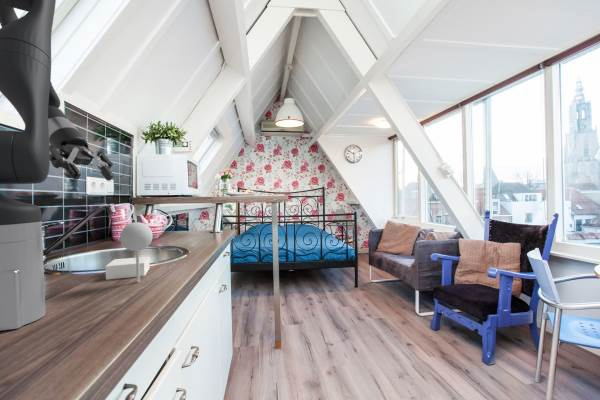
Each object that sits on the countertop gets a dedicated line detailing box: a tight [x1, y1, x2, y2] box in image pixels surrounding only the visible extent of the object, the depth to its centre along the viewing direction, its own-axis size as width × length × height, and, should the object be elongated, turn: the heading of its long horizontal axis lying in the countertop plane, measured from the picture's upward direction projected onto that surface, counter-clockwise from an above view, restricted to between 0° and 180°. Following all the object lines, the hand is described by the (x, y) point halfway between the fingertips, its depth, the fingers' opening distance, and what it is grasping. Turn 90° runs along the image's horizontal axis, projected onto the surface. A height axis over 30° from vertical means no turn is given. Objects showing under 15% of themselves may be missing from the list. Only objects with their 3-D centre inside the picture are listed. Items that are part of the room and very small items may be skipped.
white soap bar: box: [105, 256, 150, 281], centre depth 84 cm, size 9×9×4 cm
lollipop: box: [119, 221, 154, 283], centre depth 75 cm, size 7×7×15 cm
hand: (95, 177), depth 79 cm, fingers open, 8 cm apart
